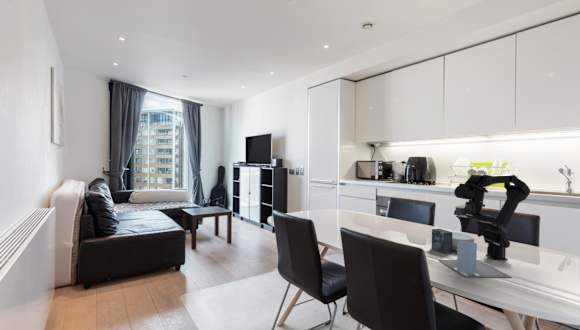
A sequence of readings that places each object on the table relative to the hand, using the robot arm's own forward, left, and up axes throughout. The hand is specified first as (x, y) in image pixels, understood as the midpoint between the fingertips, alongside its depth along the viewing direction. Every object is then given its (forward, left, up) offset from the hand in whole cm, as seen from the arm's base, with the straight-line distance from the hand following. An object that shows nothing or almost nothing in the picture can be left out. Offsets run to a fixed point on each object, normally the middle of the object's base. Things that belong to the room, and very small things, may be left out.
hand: (470, 234), depth 132 cm
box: (+6, -14, -13) cm, 20 cm away
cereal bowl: (-4, -19, -13) cm, 23 cm away
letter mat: (+6, +10, -12) cm, 17 cm away
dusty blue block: (+11, +15, -12) cm, 22 cm away
